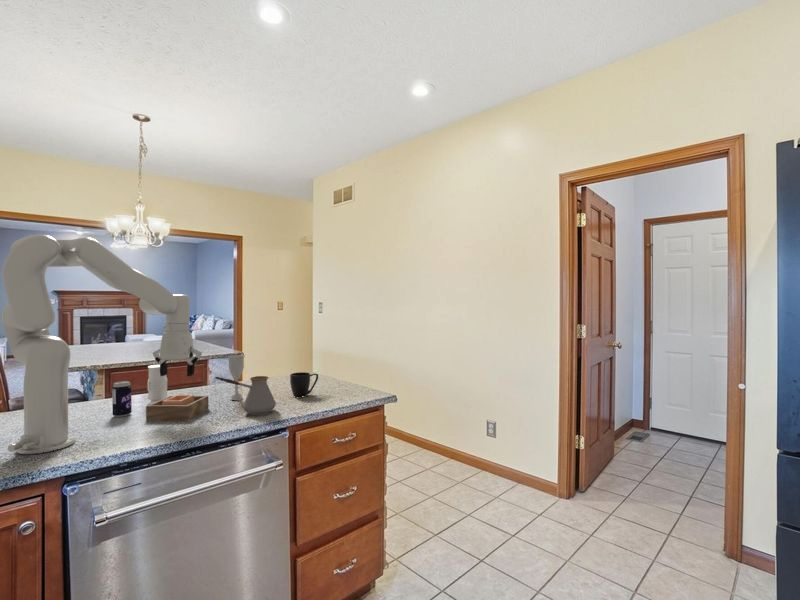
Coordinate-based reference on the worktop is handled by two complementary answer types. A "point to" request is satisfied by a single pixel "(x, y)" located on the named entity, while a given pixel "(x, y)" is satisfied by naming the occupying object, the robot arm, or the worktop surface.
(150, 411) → the walnut crate
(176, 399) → the terracotta crate
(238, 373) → the chalice
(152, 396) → the candle
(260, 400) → the coffee pot
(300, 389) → the mug
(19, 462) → the worktop surface
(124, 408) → the beverage can
